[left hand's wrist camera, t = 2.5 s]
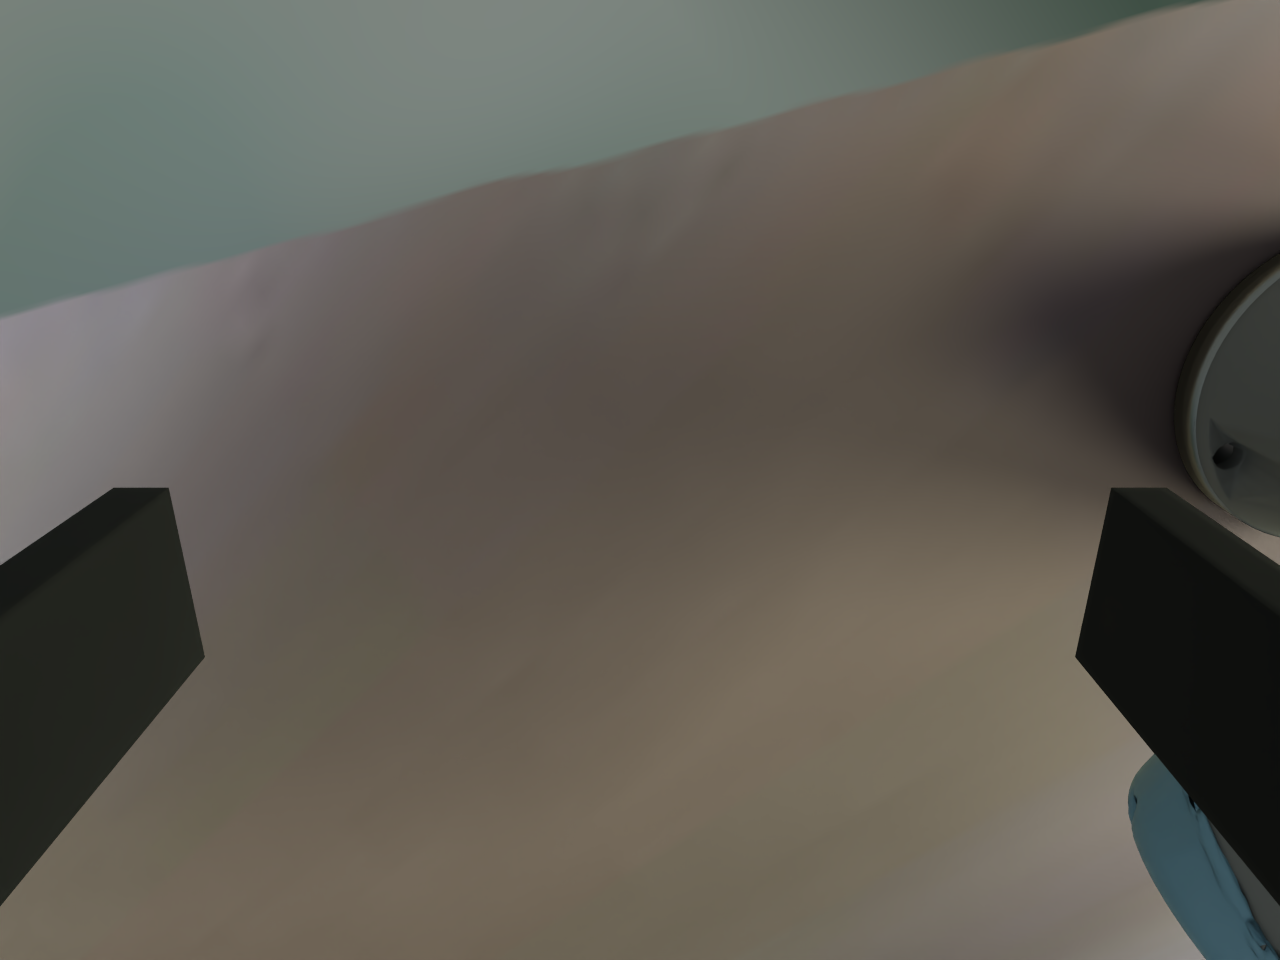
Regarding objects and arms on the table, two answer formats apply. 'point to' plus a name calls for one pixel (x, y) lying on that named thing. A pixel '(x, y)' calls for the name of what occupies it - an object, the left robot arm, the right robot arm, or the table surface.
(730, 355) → the table surface
